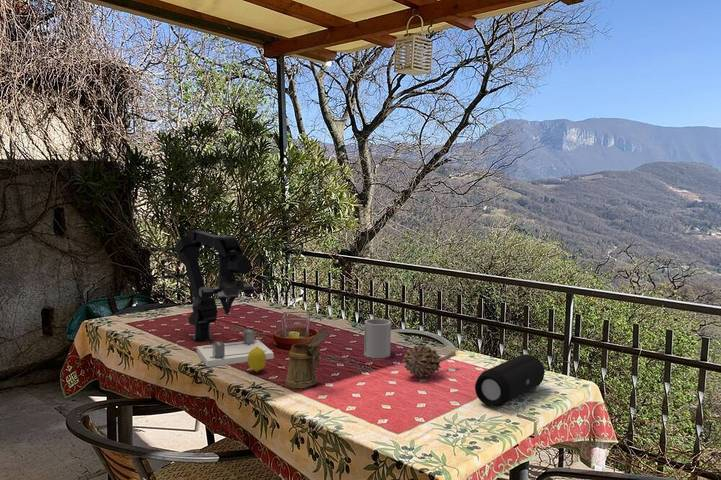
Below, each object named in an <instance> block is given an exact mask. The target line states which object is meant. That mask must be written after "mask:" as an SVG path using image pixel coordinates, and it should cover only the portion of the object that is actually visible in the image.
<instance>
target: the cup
mask: <svg viewBox="0 0 721 480" xmlns="http://www.w3.org/2000/svg"><path fill="white" fill-rule="evenodd" d="M391 333H392V321H391V320H389V319H385V318H368V319H366V320H364V334H363V335H364V337H363V338H364V339H363V340H364V341H363V344H364V345H363V346H364V347H363V356H364V355H365V356H367V357H371V358H385V357H388V356H390V357H391V345H392V344H391V342H392V341H391V340H392V339H391V336H392V334H391ZM365 356H364V357H365Z"/></svg>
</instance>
